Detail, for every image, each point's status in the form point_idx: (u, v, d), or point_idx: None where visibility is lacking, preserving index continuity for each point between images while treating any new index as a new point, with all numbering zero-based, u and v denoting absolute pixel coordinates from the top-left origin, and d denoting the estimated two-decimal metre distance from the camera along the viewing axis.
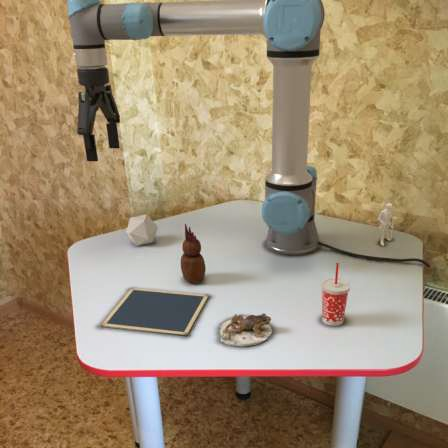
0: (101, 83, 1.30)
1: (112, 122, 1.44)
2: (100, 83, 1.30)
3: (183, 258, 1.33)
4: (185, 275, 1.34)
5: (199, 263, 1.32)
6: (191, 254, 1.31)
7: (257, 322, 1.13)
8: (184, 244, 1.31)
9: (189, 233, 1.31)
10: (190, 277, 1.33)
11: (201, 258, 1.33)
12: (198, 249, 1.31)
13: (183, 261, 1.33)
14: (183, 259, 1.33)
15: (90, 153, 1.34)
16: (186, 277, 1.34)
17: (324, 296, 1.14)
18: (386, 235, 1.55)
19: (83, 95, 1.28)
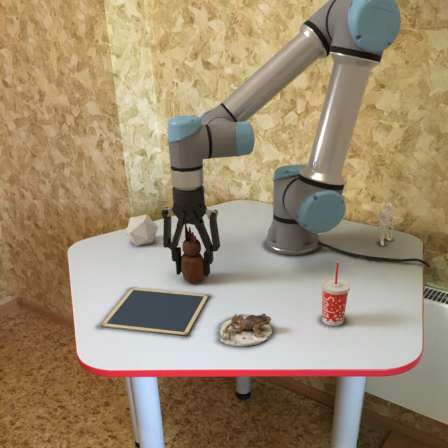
0: (176, 203, 1.25)
1: None
2: (175, 203, 1.25)
3: (183, 258, 1.33)
4: (185, 275, 1.34)
5: (199, 263, 1.32)
6: (191, 254, 1.31)
7: (257, 322, 1.13)
8: (184, 244, 1.31)
9: (189, 233, 1.31)
10: (190, 277, 1.33)
11: (201, 258, 1.33)
12: (198, 249, 1.31)
13: (183, 261, 1.33)
14: (183, 259, 1.33)
15: None
16: (186, 277, 1.34)
17: (324, 296, 1.14)
18: (386, 235, 1.55)
19: None
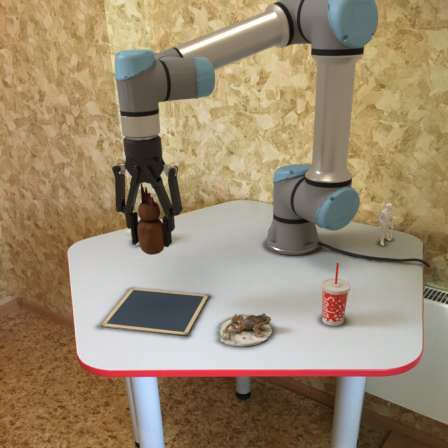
0: (127, 156, 1.05)
1: None
2: (126, 156, 1.05)
3: (139, 224, 1.13)
4: (142, 244, 1.14)
5: (157, 230, 1.12)
6: (148, 219, 1.12)
7: (257, 322, 1.13)
8: (140, 207, 1.11)
9: (145, 194, 1.11)
10: (147, 247, 1.14)
11: (160, 224, 1.13)
12: (156, 213, 1.12)
13: (139, 228, 1.13)
14: (139, 225, 1.13)
15: None
16: (143, 247, 1.14)
17: (324, 296, 1.14)
18: (386, 235, 1.55)
19: None
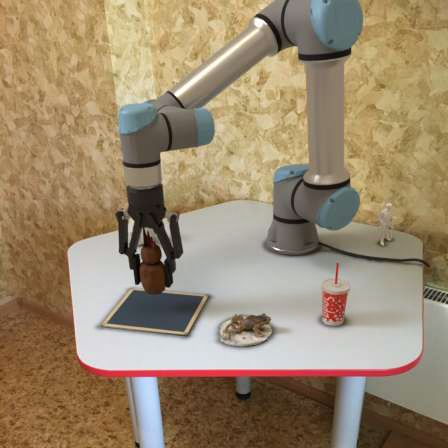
0: (130, 204, 1.09)
1: None
2: (129, 203, 1.09)
3: (141, 266, 1.17)
4: (144, 285, 1.18)
5: (159, 272, 1.16)
6: (150, 262, 1.16)
7: (257, 322, 1.13)
8: (142, 250, 1.15)
9: (148, 238, 1.15)
10: (149, 288, 1.18)
11: (162, 266, 1.17)
12: (158, 256, 1.16)
13: (141, 270, 1.17)
14: (141, 267, 1.17)
15: None
16: (145, 288, 1.18)
17: (324, 296, 1.14)
18: (386, 235, 1.55)
19: None
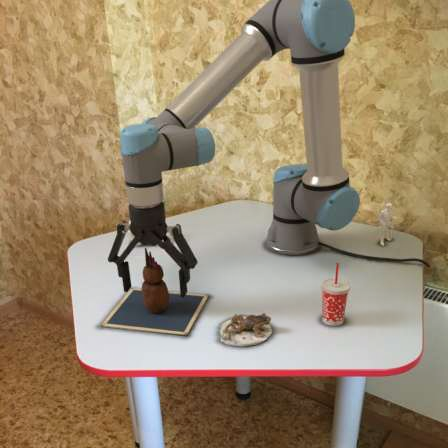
0: (132, 222, 1.11)
1: None
2: (132, 222, 1.11)
3: (144, 286, 1.20)
4: (146, 304, 1.21)
5: (161, 291, 1.19)
6: (152, 282, 1.18)
7: (257, 322, 1.13)
8: (144, 270, 1.18)
9: (150, 258, 1.18)
10: (151, 307, 1.20)
11: (163, 286, 1.19)
12: (160, 276, 1.18)
13: (144, 289, 1.19)
14: (144, 287, 1.20)
15: None
16: (147, 306, 1.21)
17: (324, 296, 1.14)
18: (386, 235, 1.55)
19: None
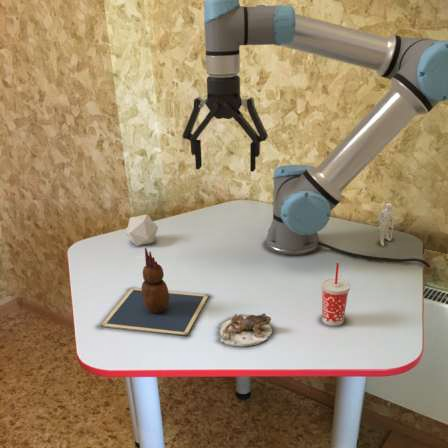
0: (211, 93, 1.20)
1: None
2: (210, 93, 1.20)
3: (144, 286, 1.20)
4: (146, 304, 1.21)
5: (161, 291, 1.19)
6: (152, 282, 1.18)
7: (257, 322, 1.13)
8: (144, 270, 1.18)
9: (150, 258, 1.18)
10: (151, 307, 1.20)
11: (163, 286, 1.19)
12: (160, 276, 1.18)
13: (144, 289, 1.19)
14: (144, 287, 1.20)
15: None
16: (147, 306, 1.21)
17: (324, 296, 1.14)
18: (386, 235, 1.55)
19: None
